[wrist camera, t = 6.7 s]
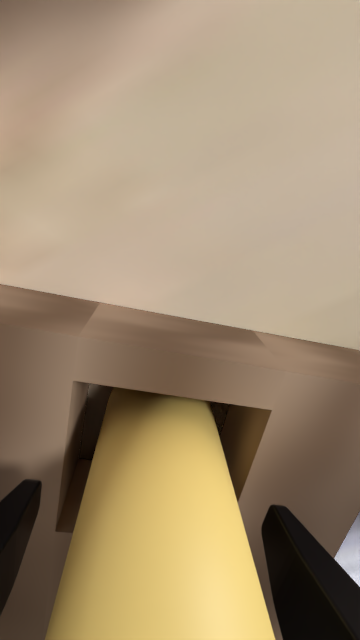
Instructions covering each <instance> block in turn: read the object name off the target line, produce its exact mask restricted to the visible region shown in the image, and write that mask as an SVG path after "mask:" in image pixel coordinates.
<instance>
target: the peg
mask: <svg viewBox="0 0 360 640" xmlns="http://www.w3.org/2000/svg"><path fill="white" fill-rule="evenodd" d="M45 640H275V637H274V633H273V629H272V626H271V622H270V618H269V615H268V611H267V608H266V604H265V600H264V597H263V593H262V590H261V586H260V582H259V579H258V575H257V571H256V568H255V564H254V561H253V557H252V553H251V550H250V546H249V542H248V539H247V535H246V532H245V528H244V524H243V521H242V517H241V514H240V510H239V506H238V503H237V499H236V495H235V492H234V488H233V485H232V481H231V477H230V474H229V470H228V467H227V463H226V459H225V456H224V452H223V448H222V445H221V441H220V438H219V434H218V430H217V427H216V423H215V420H214V416H213V412H212V409H211V405H210V401H207V400H200V399H193V398H187V397H180V396H173V395H166V394H160V393H153V392H146V391H139V390H133V389H126V388H119V387H114V388H113V390H112V392H111V394H110V397H109V400H108V404H107V407H106V411H105V415H104V419H103V422H102V426H101V430H100V434H99V437H98V441H97V445H96V449H95V453H94V456H93V460H92V464H91V468H90V471H89V475H88V479H87V483H86V486H85V490H84V494H83V498H82V501H81V505H80V509H79V513H78V516H77V520H76V524H75V528H74V531H73V535H72V539H71V543H70V546H69V550H68V554H67V558H66V561H65V565H64V569H63V573H62V576H61V580H60V584H59V588H58V591H57V595H56V599H55V603H54V606H53V610H52V614H51V618H50V621H49V625H48V629H47V633H46V636H45Z"/></svg>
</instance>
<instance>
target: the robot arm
mask: <svg viewBox="0 0 360 640" xmlns="http://www.w3.org/2000/svg"><path fill="white" fill-rule="evenodd" d="M41 488H42V482H41V481H40V480H35V479H25V480H23V481H22V482H21V483H19V484H18V485H17V486H16V487H15V488H14V489H13V490H12V491H11V492H10V493H8V494H7V495H6V496H5V497H4V498H3V499H2V500H1V501H0V616H1V614H2V611H3V609H4V607H5V605H6V602H7V600H8V598H9V595H10V593H11V590H12V588H13V585H14V583H15V580H16V577H17V574H18V571H19V568H20V565H21V562H22V559H23V556H24V553H25V550H26V547H27V544H28V542H29V539H30V536H31V533H32V530H33V527H34V524H35V521H36V518H37V515H38V511H39V507H40V499H41ZM261 534H262V540H263V546H264V552H265V558H266V564H267V570H268V575H269V581H270V587H271V593H272V598H273V603H274V607H275V611H276V615H277V619H278V623H279V627H280V631H281V634H282V638H283V640H360V587H359V586H358V585H357V584H356V582H355V581H354V580H353V579H352V578H351V577H350V576H349V575H348V574H347V573H346V571H345V570H344V569H343V568H342V567H341V566H340V565H339V564H338V563H337V562H336V561H335V559H334V558H333V557H332V556H331V555H330V554H329V553H328V552H327V551H326V550H325V548H324V547H323V546H322V545H321V544H320V543H319V542H318V541H317V540H316V539H315V537H314V536H313V535H312V534H311V533H310V532H309V531H308V530H307V529H306V528H305V526H304V525H303V524H302V523H301V522H300V521H299V520H298V519H297V518H296V517H295V515H294V514H293V513H292V512H291V511H290V510H289V509H288V508H287V507H286V506H284V505H276V504H272V505H270V506H269V508H268V511H267V513H266V516H265V518H264V521H263V523H262V527H261Z"/></svg>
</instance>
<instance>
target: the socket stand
mask: <svg viewBox="0 0 360 640" xmlns="http://www.w3.org/2000/svg"><path fill="white" fill-rule="evenodd" d="M89 383H92V384H99V385H106V386H112V387H119V388H126V389H133V390H139V391H146V392H153V393H160V394H166V395H173V396H180V397H187V398H193V399H200V400H207V401H214V402H220V403H227V404H230V406H229V410H228V413H227V416H226V419H225V422H224V426H223V429H222V432H221V435H220V441H221V445H222V448H223V452H224V456H225V459H226V463H227V467H228V470H229V474H230V477H231V481H232V485H233V488H234V492H235V495H236V499H237V503H238V506H239V510H240V514H241V517H242V521H243V524H244V528H245V532H246V535H247V539H248V542H249V546H250V550H251V553H252V557H253V561H254V564H255V568H256V571H257V575H258V579H259V582H260V586H261V590H262V593H263V597H264V600H265V604H266V608H267V611H268V615H269V618H270V622H271V626H272V629H273V633H274V637H275V640H283V638H282V634H281V631H280V627H279V623H278V619H277V615H276V611H275V607H274V603H273V598H272V593H271V587H270V581H269V575H268V570H267V564H266V558H265V552H264V546H263V540H262V534H261V527H262V523H263V521H264V518H265V516H266V513H267V511H268V508H269V506H270V505H272V504H276V505H284V506H286V507H287V508H288V509H289V510H290V511H291V512H292V513H293V514H294V515H295V517H296V518H297V519H298V520H299V521H300V522H301V523H302V524H303V525H304V526H305V528H306V529H307V530H308V531H309V532H310V533H311V534H312V535H313V536H314V537H315V539H316V540H317V541H318V542H319V543H320V544H321V545H322V546H323V547H324V548H325V550H326V551H327V552H328V553H329V554H330V555H331V556H332V557H333V558H334V557H335V555H336V554H337V552H338V550H339V548H340V546H341V544H342V543H343V541H344V539H345V537H346V535H347V533H348V532H349V530H350V528H351V526H352V524H353V522H354V520H355V519H356V517H357V515H358V513H359V511H360V351H359V350H354V349H349V348H344V347H338V346H333V345H327V344H322V343H316V342H311V341H306V340H300V339H295V338H289V337H284V336H278V335H273V334H268V333H262V332H257V331H251V330H246V329H240V328H235V327H230V326H224V325H219V324H213V323H208V322H202V321H197V320H192V319H186V318H181V317H175V316H170V315H164V314H159V313H154V312H148V311H143V310H137V309H132V308H126V307H121V306H116V305H110V304H105V303H99V302H94V301H88V300H83V299H77V298H72V297H67V296H61V295H56V294H50V293H45V292H39V291H34V290H29V289H23V288H18V287H12V286H7V285H1V284H0V501H1V500H2V499H3V498H4V497H5V496H6V495H7V494H8V493H10V492H11V491H12V490H13V489H14V488H15V487H16V486H17V485H18V484H19V483H21V482H22V481H23V480H25V479H35V480H40V481H41V482H42V488H41V499H40V507H39V511H38V515H37V518H36V521H35V524H34V527H33V530H32V533H31V536H30V539H29V542H28V544H27V547H26V550H25V553H24V556H23V559H22V562H21V565H20V568H19V571H18V574H17V577H16V580H15V583H14V585H13V588H12V590H11V593H10V595H9V598H8V600H7V602H6V605H5V607H4V609H3V611H2V614H1V616H0V640H45V636H46V633H47V629H48V625H49V621H50V618H51V614H52V610H53V606H54V603H55V599H56V595H57V591H58V588H59V584H60V580H61V576H62V573H63V569H64V565H65V561H66V558H67V554H68V550H69V546H70V543H71V539H72V535H73V531H74V528H75V524H76V520H77V516H78V513H79V509H80V505H81V501H82V498H83V494H84V490H85V486H86V483H87V479H88V475H89V471H90V468H91V464H92V460H85V459H79V454H80V446H81V439H82V432H83V424H84V417H85V410H86V403H87V395H88V388H89Z"/></svg>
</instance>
